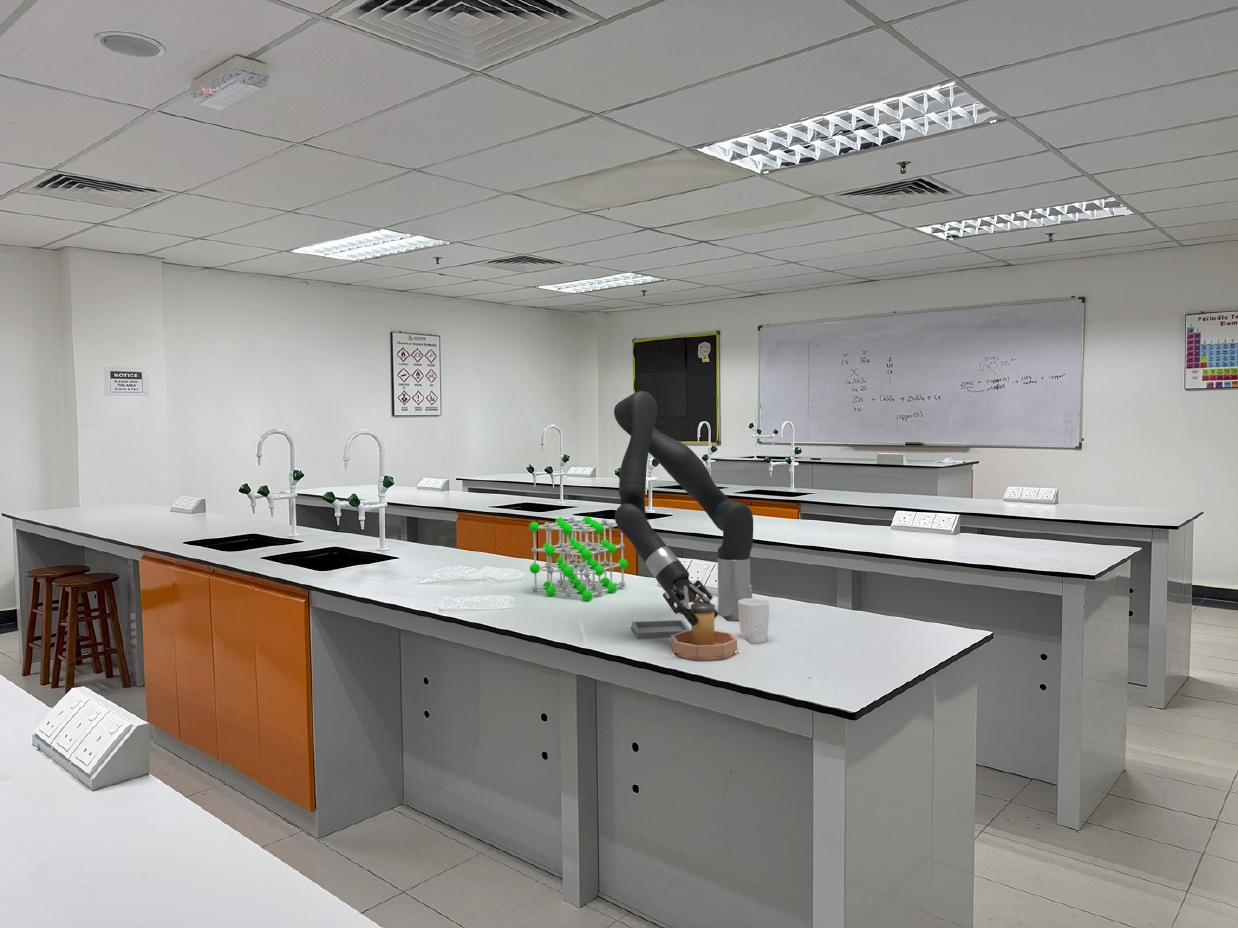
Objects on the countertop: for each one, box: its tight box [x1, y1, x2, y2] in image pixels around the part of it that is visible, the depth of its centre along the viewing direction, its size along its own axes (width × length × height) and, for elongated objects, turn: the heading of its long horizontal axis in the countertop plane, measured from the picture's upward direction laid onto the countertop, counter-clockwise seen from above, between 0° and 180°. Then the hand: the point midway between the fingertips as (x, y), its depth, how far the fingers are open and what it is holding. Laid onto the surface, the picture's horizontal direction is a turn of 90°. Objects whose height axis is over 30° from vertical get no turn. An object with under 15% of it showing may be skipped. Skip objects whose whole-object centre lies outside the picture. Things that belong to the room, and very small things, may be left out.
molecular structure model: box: [528, 516, 629, 602], centre depth 275 cm, size 24×25×24 cm
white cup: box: [738, 597, 770, 644], centre depth 211 cm, size 8×8×10 cm
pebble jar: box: [690, 602, 716, 646], centre depth 200 cm, size 6×6×10 cm
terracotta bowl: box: [670, 629, 738, 662], centre depth 200 cm, size 15×15×4 cm
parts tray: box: [631, 619, 691, 640], centre depth 217 cm, size 14×12×2 cm
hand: (705, 620), depth 200 cm, fingers open, 8 cm apart
